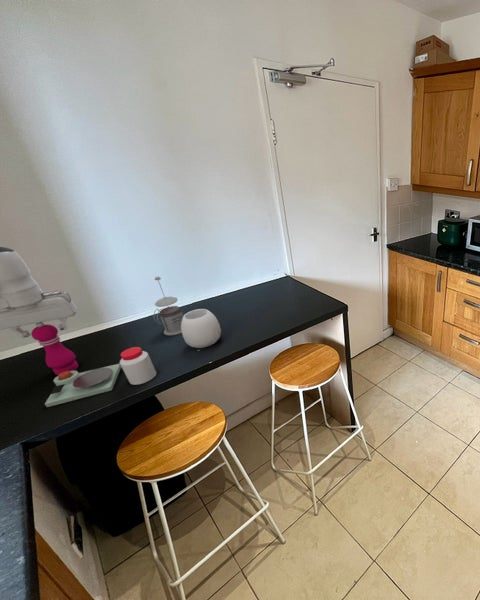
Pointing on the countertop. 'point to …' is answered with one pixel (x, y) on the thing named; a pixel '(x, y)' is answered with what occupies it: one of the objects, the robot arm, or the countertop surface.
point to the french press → (169, 326)
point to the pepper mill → (54, 349)
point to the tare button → (65, 375)
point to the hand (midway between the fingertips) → (46, 332)
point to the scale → (74, 393)
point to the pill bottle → (137, 366)
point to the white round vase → (200, 328)
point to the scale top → (88, 379)
